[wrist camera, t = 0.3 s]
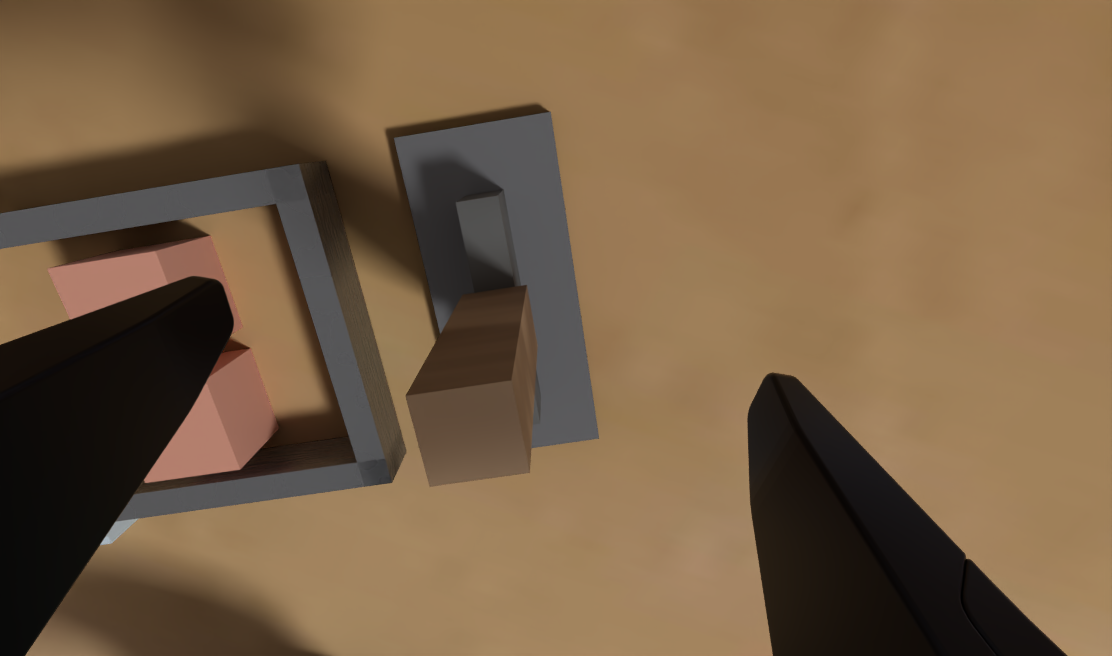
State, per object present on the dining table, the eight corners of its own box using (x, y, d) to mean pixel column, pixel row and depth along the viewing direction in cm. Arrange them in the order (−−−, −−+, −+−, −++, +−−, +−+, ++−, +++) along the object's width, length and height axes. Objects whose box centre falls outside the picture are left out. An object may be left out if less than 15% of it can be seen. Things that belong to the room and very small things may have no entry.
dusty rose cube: (244, 326, 24) (196, 355, 21) (155, 339, 24) (94, 371, 21) (212, 234, 23) (155, 251, 20) (119, 250, 23) (47, 268, 20)
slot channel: (406, 451, 26) (392, 482, 24) (140, 489, 27) (100, 523, 24) (325, 161, 22) (298, 163, 20) (12, 213, 22) (-52, 222, 20)
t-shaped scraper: (551, 394, 25) (551, 583, 14) (497, 402, 25) (459, 595, 14) (515, 187, 22) (482, 232, 11) (454, 197, 22) (366, 251, 11)
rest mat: (598, 431, 26) (599, 438, 25) (471, 450, 26) (469, 456, 26) (550, 112, 21) (550, 111, 21) (397, 137, 22) (393, 138, 21)
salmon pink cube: (280, 427, 26) (240, 469, 22) (197, 439, 26) (145, 483, 23) (252, 347, 25) (205, 379, 21) (165, 360, 25) (105, 394, 21)
